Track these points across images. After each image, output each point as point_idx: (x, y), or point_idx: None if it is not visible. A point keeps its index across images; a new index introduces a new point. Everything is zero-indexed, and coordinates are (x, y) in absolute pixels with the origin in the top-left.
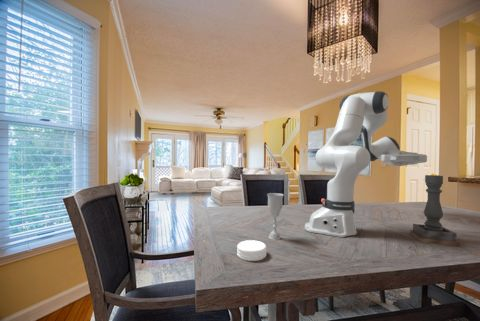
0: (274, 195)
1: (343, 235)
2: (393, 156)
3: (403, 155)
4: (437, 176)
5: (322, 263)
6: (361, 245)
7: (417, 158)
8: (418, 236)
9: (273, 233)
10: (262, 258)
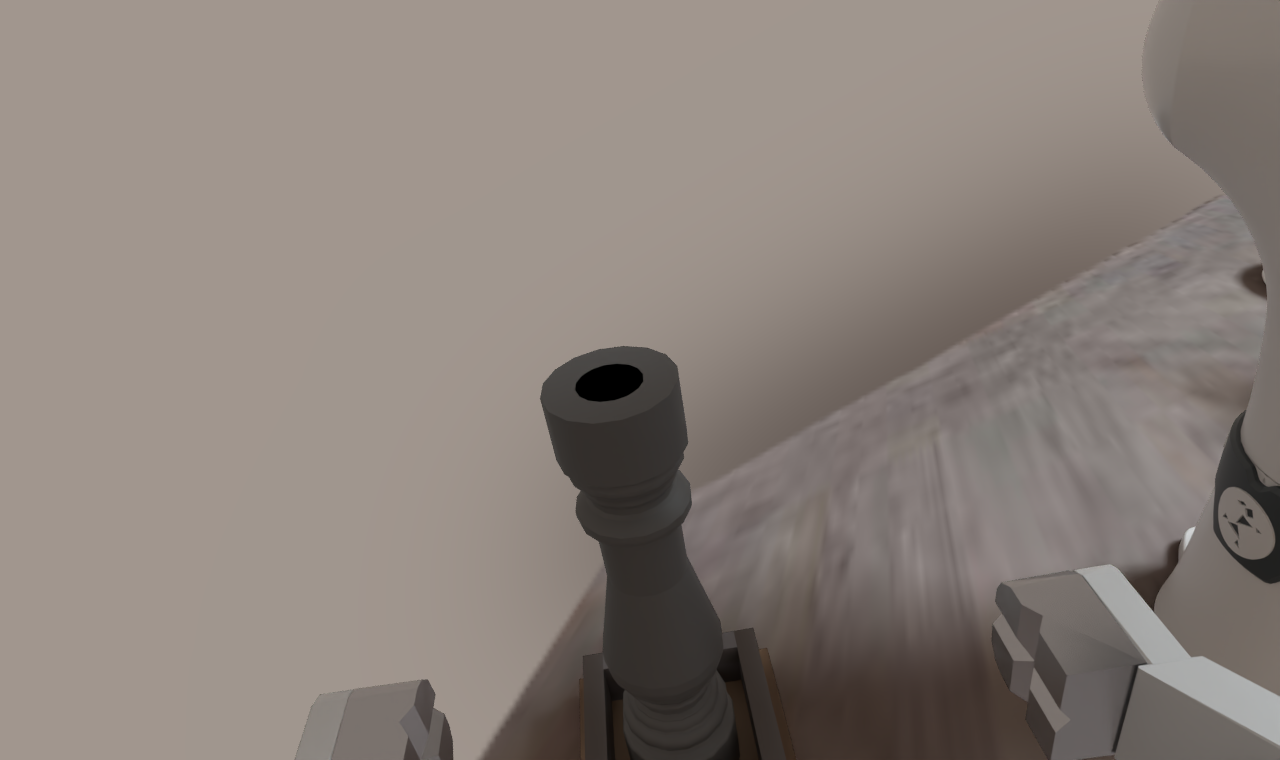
0: None
1: (1187, 530)
2: (1254, 686)
3: None
4: (608, 350)
5: (1097, 326)
6: (1052, 487)
7: (427, 755)
8: (780, 700)
9: None
10: (1262, 276)
